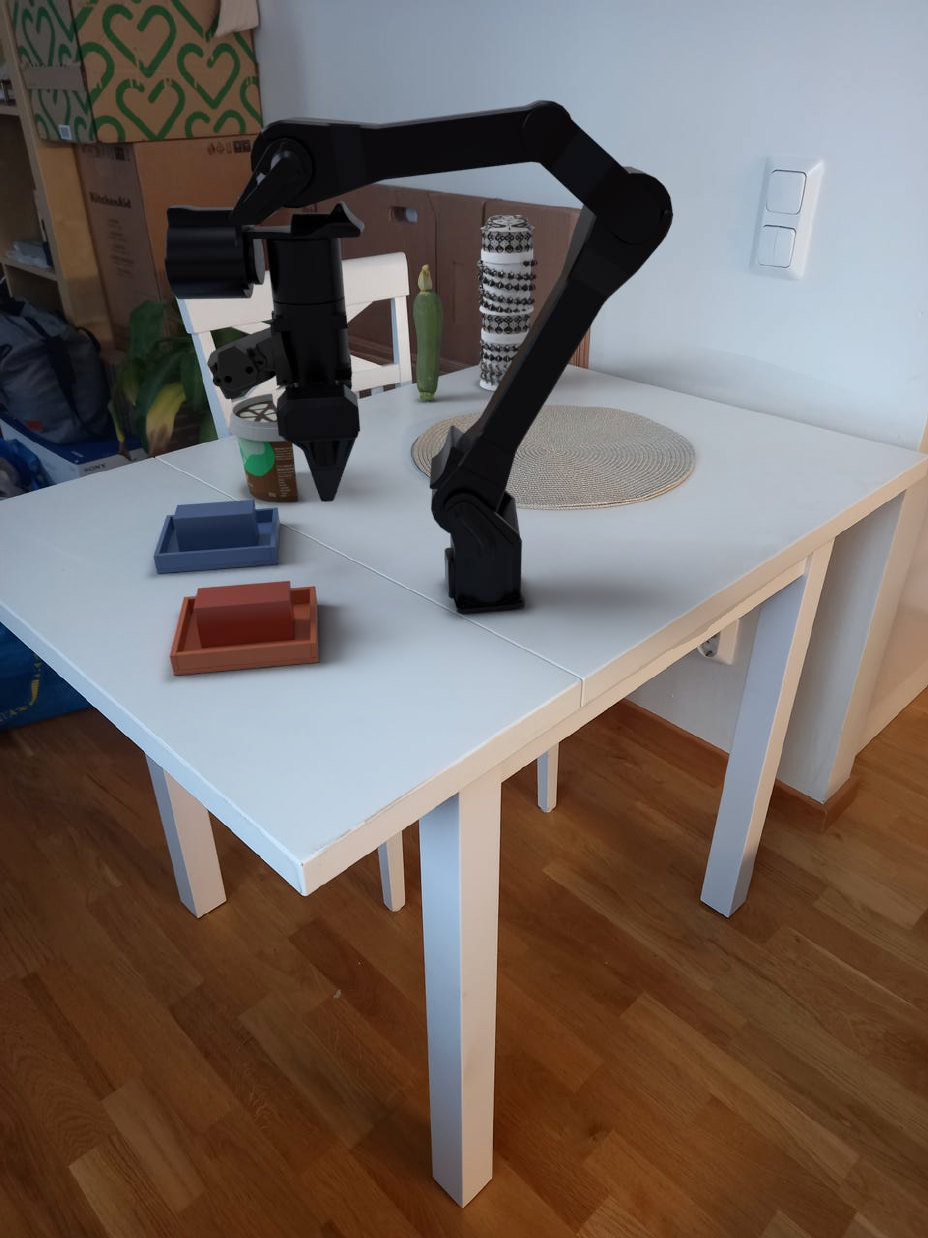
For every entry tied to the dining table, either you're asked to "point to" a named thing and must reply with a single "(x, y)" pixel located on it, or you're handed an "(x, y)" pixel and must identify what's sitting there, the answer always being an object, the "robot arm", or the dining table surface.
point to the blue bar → (216, 525)
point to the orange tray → (252, 655)
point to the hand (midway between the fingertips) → (326, 480)
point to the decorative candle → (504, 293)
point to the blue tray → (262, 554)
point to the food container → (264, 450)
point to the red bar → (244, 614)
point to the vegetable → (427, 335)
